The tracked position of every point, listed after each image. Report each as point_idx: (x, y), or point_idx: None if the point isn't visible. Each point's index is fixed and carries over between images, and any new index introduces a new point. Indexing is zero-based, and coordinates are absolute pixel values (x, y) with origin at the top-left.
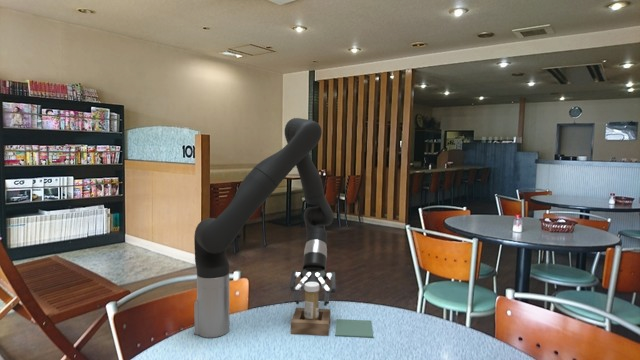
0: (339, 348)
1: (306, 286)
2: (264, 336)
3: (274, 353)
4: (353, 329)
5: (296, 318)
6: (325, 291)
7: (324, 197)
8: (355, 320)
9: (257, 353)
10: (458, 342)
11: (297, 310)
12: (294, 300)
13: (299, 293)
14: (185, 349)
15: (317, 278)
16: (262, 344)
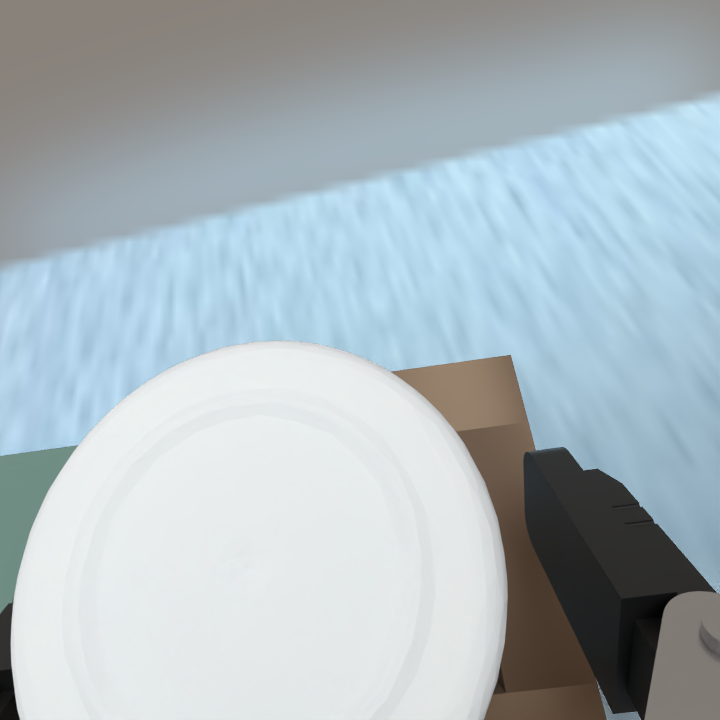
0: (141, 290)
1: (387, 372)
2: (664, 312)
3: (493, 158)
4: (8, 561)
5: (490, 446)
6: (5, 707)
7: None
8: None
9: (583, 137)
10: None
11: (565, 685)
12: (602, 484)
13: (600, 637)
14: None
15: None
16: (612, 219)
